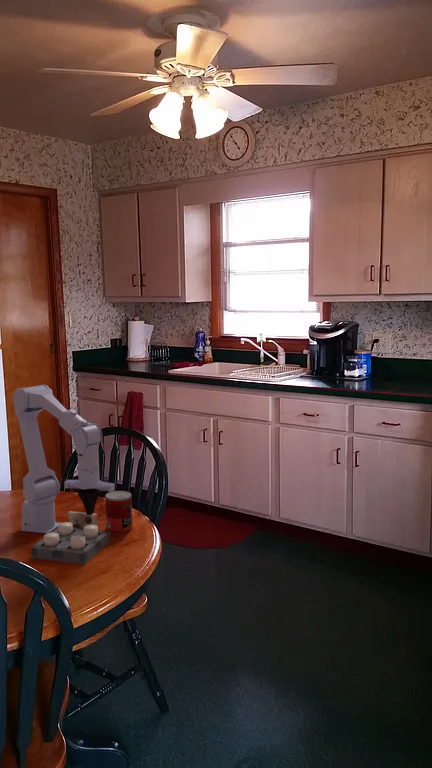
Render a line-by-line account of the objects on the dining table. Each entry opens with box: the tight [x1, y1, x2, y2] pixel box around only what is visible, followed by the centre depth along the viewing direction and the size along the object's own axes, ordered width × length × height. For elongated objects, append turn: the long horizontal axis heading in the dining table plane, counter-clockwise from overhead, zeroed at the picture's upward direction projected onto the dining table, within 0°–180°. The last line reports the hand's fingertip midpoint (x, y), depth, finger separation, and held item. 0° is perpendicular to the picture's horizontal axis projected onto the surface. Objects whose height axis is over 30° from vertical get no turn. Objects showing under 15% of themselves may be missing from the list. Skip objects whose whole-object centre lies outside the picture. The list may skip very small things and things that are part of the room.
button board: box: [30, 527, 111, 565], centre depth 173 cm, size 16×16×3 cm
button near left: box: [43, 532, 59, 547], centre depth 170 cm, size 4×4×3 cm
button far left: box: [57, 521, 73, 536], centre depth 178 cm, size 4×4×3 cm
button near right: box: [70, 535, 85, 550], centre depth 168 cm, size 4×4×3 cm
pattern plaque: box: [68, 510, 99, 528], centre depth 184 cm, size 9×1×6 cm, turn 75°
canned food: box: [104, 490, 133, 535], centre depth 187 cm, size 8×8×11 cm
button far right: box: [84, 524, 99, 539], centre depth 176 cm, size 4×4×3 cm
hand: (90, 513), depth 175 cm, fingers closed
